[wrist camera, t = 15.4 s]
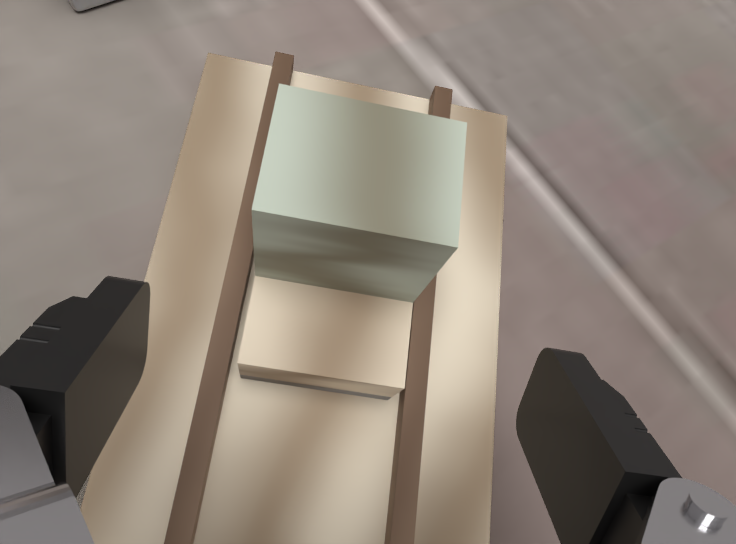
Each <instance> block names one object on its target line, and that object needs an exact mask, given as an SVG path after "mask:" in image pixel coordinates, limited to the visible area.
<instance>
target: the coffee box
mask: <svg viewBox="0 0 736 544" xmlns="http://www.w3.org/2000/svg"><path fill="white" fill-rule="evenodd" d="M68 1H69V2H70V4H71V6H72V8H73V9H74V10H76V11H83V10H86V9H89V8H92V7H95V6H99V5H102V4H105V3H108V2H111V1H114V0H68Z"/></svg>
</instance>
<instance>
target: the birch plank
mask: <svg viewBox="0 0 736 544" xmlns="http://www.w3.org/2000/svg"><path fill="white" fill-rule="evenodd" d="M293 62H294V55H289V54H284V53H280V52H275V57H274V61H273V66H268V65H264V64H259V63H254V62H250V61H245V60H240V59H235V58H231V57H226V56H221V55H216V54H212V53H208V56H207V59H206V63H205V66H204V70H203V73H202V77H201V81H200V84H199V88H198V91H197V95H196V98H195V102H194V106H193V109H192V113H191V116H190V120H189V123H188V127H187V131H186V134H185V138H184V141H183V145H182V148H181V152H180V155H179V159H178V163H177V166H176V170H175V173H174V177H173V180H172V184H171V188H170V191H169V195H168V198H167V202H166V205H165V209H164V213H163V216H162V220H161V223H160V227H159V230H158V234H157V238H156V241H155V245H154V248H153V252H152V255H151V259H150V263H149V266H148V270H147V273H146V277H145V280H144V282H148V283H149V285H150V311H149V329H148V347H147V357H146V363H145V367H144V371H143V374H142V377H141V379H140V382H139V384H138V386H137V387H136V389H135V391H134V393H133V395H132V397H131V398H130V400H129V402H128V404H127V406H126V408H125V409H124V411H123V413H122V415H121V417H120V419H119V420H118V422H117V424H116V426H115V428H114V430H113V431H112V433H111V435H110V437H109V439H108V440H107V442H106V444H105V446H104V448H103V450H102V451H101V453H100V455H99V457H98V459H97V461H96V462H95V464H94V466H93V468H92V470H91V473H90V477H89V480H88V484H87V487H86V491H85V494H84V498H83V502H82V505H81V509H80V510H81V513H82V515H83V518H84V520H85V522H86V525H87V527H88V529H89V532H90V534H91V537H92V539H93V541H94V544H489V540H490V517H491V493H492V469H493V445H494V421H495V397H496V373H497V349H498V325H499V301H500V277H501V253H502V229H503V205H504V181H505V158H506V134H507V116H505V115H500V114H496V113H491V112H486V111H482V110H477V109H472V108H467V107H463V106H458V105H453V104H451V101H452V89H448V88H443V87H439V86H435V88H434V90H433V92H432V95H431V97H430V100H429V99H425V98H420V97H415V96H411V95H406V94H401V93H396V92H392V91H387V90H382V89H377V88H373V87H368V86H363V85H358V84H354V83H349V82H344V81H339V80H335V79H330V78H325V77H321V76H316V75H311V74H306V73H302V72H297V71H293ZM279 84H284V85H289V86H294V87H299V88H303V89H308V90H313V91H318V92H323V93H327V94H332V95H337V96H342V97H347V98H351V99H356V100H361V101H366V102H371V103H375V104H380V105H385V106H390V107H395V108H399V109H404V110H409V111H414V112H419V113H423V114H428V115H433V116H438V117H443V118H447V119H452V120H457V121H462V122H467V131H466V145H465V159H464V173H463V187H462V201H461V215H460V229H459V243H458V248H457V250H456V251H455V252H454V253H453V254H452V256H451V257H450V258H449V259H448V261H447V262H446V263H445V264H444V265H443V267H442V268H441V269H440V270H439V272H438V273H437V274H436V275H435V276H434V278H433V279H432V280H431V281H430V283H429V284H428V285H427V286H426V287H425V289H424V290H423V291H422V292H421V294H420V295H419V296H418V297H417V298H416V300H415V301H414V302H413V308H412V318H411V328H410V338H409V348H408V359H407V369H406V379H405V389H403V390H402V391H400V392H399V393H397V394H396V395H394V396H393V397H391V398H390V399H388V400H383V399H376V398H369V397H363V396H356V395H349V394H343V393H336V392H329V391H323V390H316V389H309V388H303V387H296V386H290V385H283V384H276V383H270V382H263V381H256V380H250V379H243V378H241V377H240V373H239V369H238V365H237V361H238V356H239V351H240V347H241V342H242V337H243V332H244V327H245V322H246V318H247V313H248V308H249V303H250V298H251V293H252V289H253V284H254V279H255V264H254V246H253V228H252V205H253V201H254V196H255V191H256V187H257V182H258V178H259V173H260V169H261V164H262V159H263V155H264V150H265V146H266V141H267V137H268V132H269V127H270V123H271V118H272V114H273V109H274V105H275V100H276V96H277V91H278V86H279Z"/></svg>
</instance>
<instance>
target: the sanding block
mask: <svg viewBox="0 0 736 544" xmlns="http://www.w3.org/2000/svg"><path fill="white" fill-rule="evenodd" d="M466 131H467V122H462V121H457V120H452V119H447V118H443V117H438V116H433V115H428V114H423V113H419V112H414V111H409V110H404V109H399V108H395V107H390V106H385V105H380V104H375V103H371V102H366V101H361V100H356V99H351V98H347V97H342V96H337V95H332V94H327V93H323V92H318V91H313V90H308V89H303V88H299V87H294V86H289V85H284V84H279V86H278V91H277V96H276V100H275V105H274V109H273V114H272V118H271V123H270V127H269V132H268V137H267V141H266V146H265V150H264V155H263V159H262V164H261V169H260V173H259V178H258V182H257V187H256V191H255V196H254V201H253V205H252V228H253V246H254V264H255V279H254V284H253V289H252V293H251V298H250V303H249V308H248V313H247V318H246V322H245V327H244V332H243V337H242V342H241V347H240V351H239V356H238V361H237V365H238V369H239V373H240V377H241V378H243V379H250V380H256V381H263V382H270V383H276V384H283V385H290V386H296V387H303V388H309V389H316V390H323V391H329V392H336V393H343V394H349V395H356V396H363V397H369V398H376V399H383V400H388V399H390V398H391V397H393V396H394V395H396V394H397V393H399V392H400V391H402V390H403V389H405V379H406V369H407V359H408V348H409V338H410V328H411V318H412V308H413V302H414V301H415V300H416V298H417V297H418V296H419V295H420V294H421V292H422V291H423V290H424V289H425V287H426V286H427V285H428V284H429V283H430V281H431V280H432V279H433V278H434V276H435V275H436V274H437V273H438V272H439V270H440V269H441V268H442V267H443V265H444V264H445V263H446V262H447V261H448V259H449V258H450V257H451V256H452V254H453V253H454V252H455V251H456V250H457V248H458V243H459V229H460V215H461V201H462V187H463V173H464V159H465V145H466Z"/></svg>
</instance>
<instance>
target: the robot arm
mask: <svg viewBox="0 0 736 544" xmlns="http://www.w3.org/2000/svg"><path fill="white" fill-rule="evenodd" d="M149 311H150V285H149V283H148V282H143V281H137V280H130V279H124V278H118V277H112V276H107V277H106V278H104V280H103V281H102V282H101V283H100V284H99V285H98V286H97V287H96V289H95V290H94V291H93V292H92V293H91V294H90V295H89V297H88V298H81V297H75V296H73V297H70V298H68V299H66V300H64V301H62V302H60V303H57V304H55V305H53V306H51V307H49V308H48V309H47V310H46V311H45V312H44V313H43V314H42V315H41V316H40V317H39V318H38V319H37V320H36V321H35V322H34V323H33V326H32V327H31V326H30V327H29V328H28V329H27V330H26V331H25V332H24V333H23V334H22V335H21V336H20V340H16V341H15V342H14V343H13V344H12V345H11V346H10V347H9V348H8V349H7V350H6V351H5V352H4V353H3V354H2V355H1V356H0V544H94V541H93V539H92V537H91V534H90V532H89V529H88V527H87V525H86V522H85V520H84V518H83V515H82V513H81V510H80V508H79V506H78V503H77V501H76V497H77V495H78V493H79V492H80V490H81V488H82V486H83V484H84V483H85V481H86V479H87V477H88V475H89V473H90V472H91V470H92V468H93V466H94V464H95V462H96V461H97V459H98V457H99V455H100V453H101V451H102V450H103V448H104V446H105V444H106V442H107V440H108V439H109V437H110V435H111V433H112V431H113V430H114V428H115V426H116V424H117V422H118V420H119V419H120V417H121V415H122V413H123V411H124V409H125V408H126V406H127V404H128V402H129V400H130V398H131V397H132V395H133V393H134V391H135V389H136V387H137V386H138V384H139V382H140V379H141V377H142V374H143V371H144V367H145V363H146V357H147V347H148V329H149ZM516 429H517V435H518V438H519V441H520V443H521V446H522V448H523V451H524V453H525V456H526V458H527V461H528V463H529V466H530V468H531V471H532V473H533V476H534V478H535V481H536V483H537V486H538V488H539V491H540V493H541V495H542V498H543V500H544V503H545V505H546V508H547V510H548V513H549V515H550V518H551V520H552V523H553V525H554V528H555V530H556V533H557V535H558V538H559V540H560V543H561V544H736V506H734V505H733V504H732V503H731V502H730V501H729V500H727V499H726V498H725V497H723V496H722V495H720V494H719V493H717V492H716V491H714V490H712V489H710V488H709V487H706V486H704V485H702V484H700V483H697V482H695V481H692V480H688V479H683V478H682V477H681V476H680V474H679V473H678V472H677V470H676V469H675V467H674V466H673V465H672V463H671V462H670V460H669V459H668V458H667V456H666V455H665V453H664V452H663V451H662V449H661V448H660V446H659V445H658V444H657V442H656V441H655V439H654V438H653V437H652V435H651V434H650V433H647V428H646V427H645V425H644V424H643V423H642V421H641V420H640V418H637V414H636V413H635V412H634V410H633V409H632V407H631V406H630V405H629V403H628V402H627V400H626V399H625V398H624V397H623V396H622V395H621V394H620V393H619V392H617V391H616V390H615V389H614V388H613V387H611V386H610V385H609V384H608V383H607V382H605V381H604V380H601V379H600V377H599V376H598V374H597V373H596V371H595V370H594V369H593V367H592V366H591V364H590V363H589V361H588V360H587V358H586V357H585V356H584V355H583V354H582V353H577V352H571V351H565V350H559V349H552V348H545V349H543V350H542V351H541V352H540V354H539V356H538V358H537V361H536V363H535V366H534V368H533V371H532V374H531V376H530V379H529V381H528V384H527V387H526V389H525V392H524V395H523V397H522V400H521V402H520V405H519V408H518V412H517V419H516Z"/></svg>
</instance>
